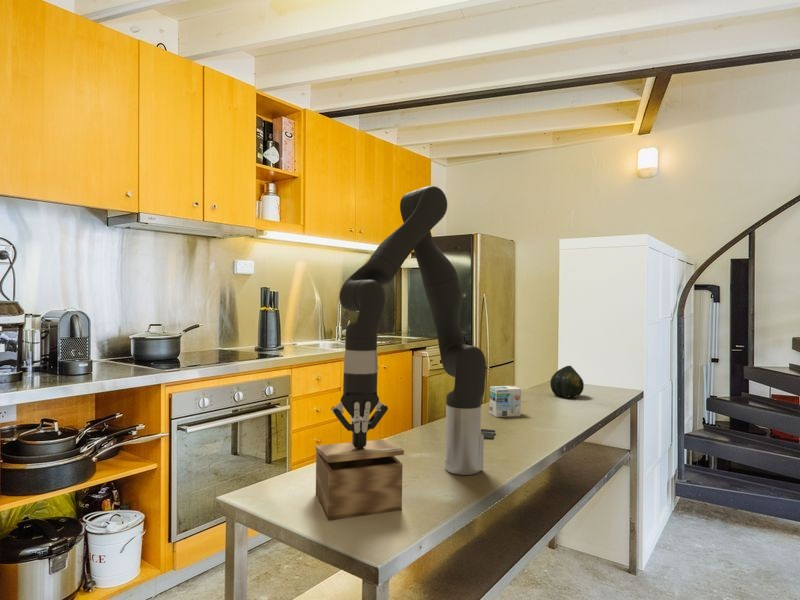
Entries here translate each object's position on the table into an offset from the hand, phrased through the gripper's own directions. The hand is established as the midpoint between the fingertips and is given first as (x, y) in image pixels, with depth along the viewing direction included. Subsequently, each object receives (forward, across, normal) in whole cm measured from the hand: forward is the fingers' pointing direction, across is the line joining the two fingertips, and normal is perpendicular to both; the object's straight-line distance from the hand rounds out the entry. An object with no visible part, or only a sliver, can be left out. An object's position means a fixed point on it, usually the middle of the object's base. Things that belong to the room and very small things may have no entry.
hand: (359, 448), depth 109 cm
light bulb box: (+10, -76, -62) cm, 98 cm away
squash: (+9, -123, -84) cm, 149 cm away
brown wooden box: (+12, 0, -1) cm, 12 cm away
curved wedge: (+12, -52, -40) cm, 67 cm away
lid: (+1, 0, -1) cm, 2 cm away
